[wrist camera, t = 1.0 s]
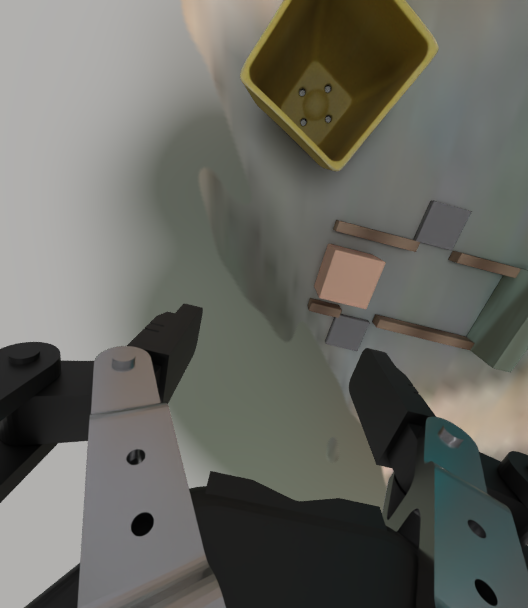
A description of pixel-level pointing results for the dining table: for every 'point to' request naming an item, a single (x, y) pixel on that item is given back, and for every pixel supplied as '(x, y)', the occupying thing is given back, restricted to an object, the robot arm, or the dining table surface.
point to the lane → (489, 325)
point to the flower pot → (336, 70)
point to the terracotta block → (348, 276)
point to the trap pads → (433, 230)
